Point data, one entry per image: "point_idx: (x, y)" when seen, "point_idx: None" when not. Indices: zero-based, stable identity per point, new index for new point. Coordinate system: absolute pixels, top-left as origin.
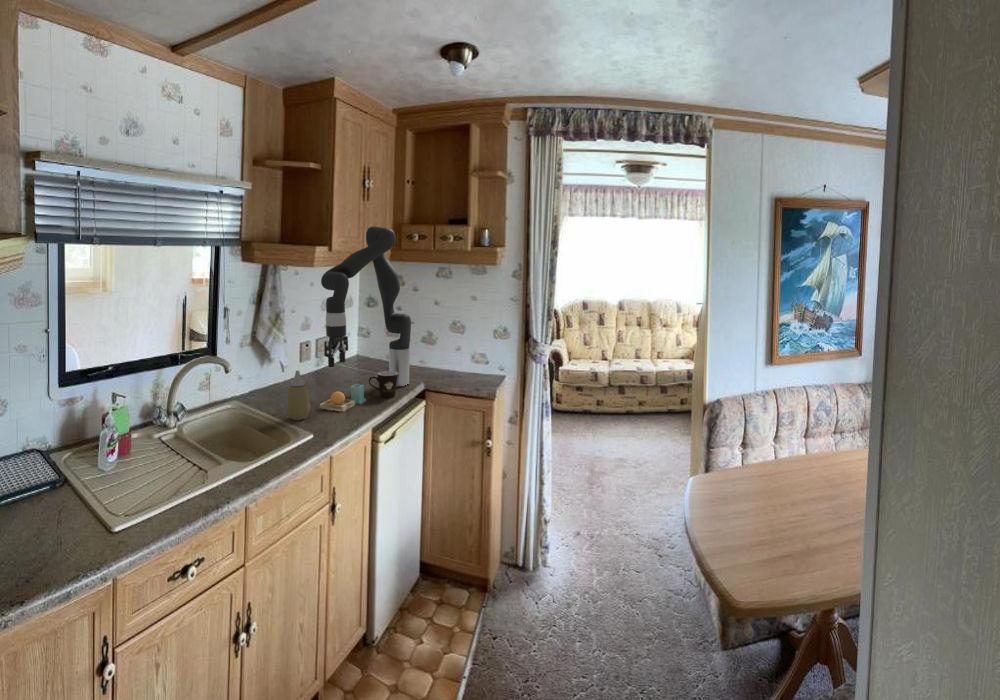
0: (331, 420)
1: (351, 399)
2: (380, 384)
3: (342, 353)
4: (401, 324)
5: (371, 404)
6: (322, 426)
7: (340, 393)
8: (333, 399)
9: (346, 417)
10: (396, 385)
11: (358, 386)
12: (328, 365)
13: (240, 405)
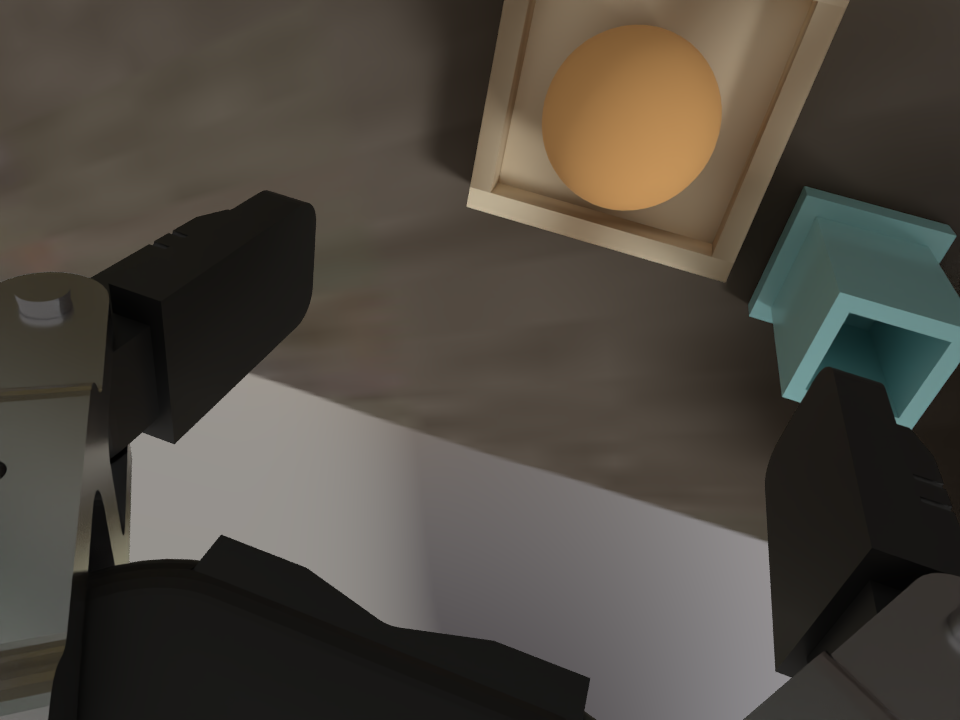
0: (230, 147)
1: (814, 225)
2: None
3: (815, 633)
4: None
5: (741, 396)
6: (88, 116)
7: (592, 183)
8: (548, 88)
9: (333, 248)
10: None
11: (923, 362)
12: (261, 195)
13: None
